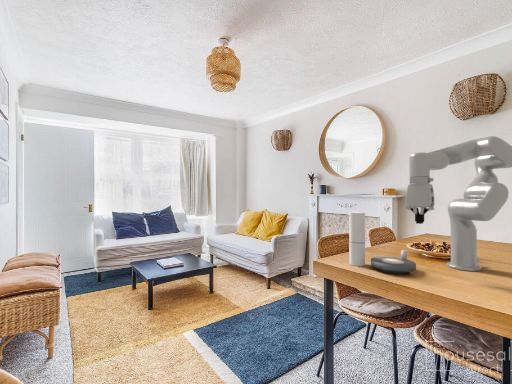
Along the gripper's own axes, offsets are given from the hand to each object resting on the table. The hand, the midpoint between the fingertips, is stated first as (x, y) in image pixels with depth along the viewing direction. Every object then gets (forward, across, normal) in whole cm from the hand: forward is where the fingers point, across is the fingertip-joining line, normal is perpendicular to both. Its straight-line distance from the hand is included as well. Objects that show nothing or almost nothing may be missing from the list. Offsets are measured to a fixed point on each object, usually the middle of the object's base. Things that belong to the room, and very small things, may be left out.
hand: (419, 223), depth 118 cm
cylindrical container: (+21, +24, +10) cm, 33 cm away
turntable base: (+21, +9, +6) cm, 24 cm away
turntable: (+19, +9, +6) cm, 22 cm away
